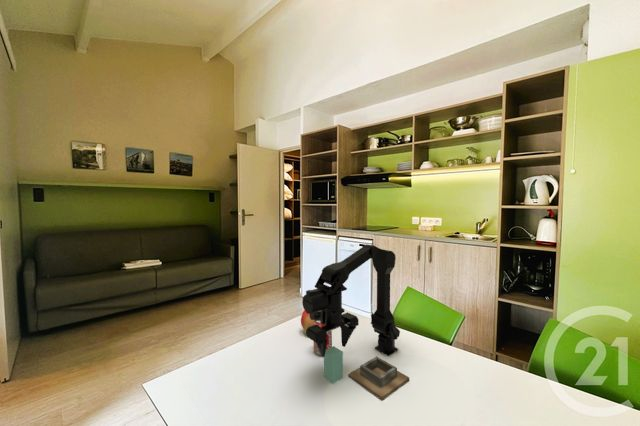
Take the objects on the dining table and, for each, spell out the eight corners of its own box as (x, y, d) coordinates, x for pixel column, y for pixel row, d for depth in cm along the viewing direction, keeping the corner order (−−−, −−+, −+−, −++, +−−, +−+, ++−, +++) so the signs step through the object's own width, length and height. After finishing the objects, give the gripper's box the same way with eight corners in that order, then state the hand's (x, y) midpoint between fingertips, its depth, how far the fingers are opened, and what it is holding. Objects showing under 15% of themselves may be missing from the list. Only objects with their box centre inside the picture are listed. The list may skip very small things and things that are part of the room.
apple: (296, 332, 123) (296, 310, 122) (312, 325, 129) (312, 304, 129) (310, 340, 116) (310, 316, 115) (326, 332, 122) (326, 310, 122)
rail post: (333, 371, 95) (333, 346, 94) (342, 377, 91) (342, 351, 91) (323, 376, 92) (323, 350, 92) (332, 383, 89) (332, 356, 88)
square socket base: (375, 360, 101) (375, 350, 100) (409, 380, 90) (409, 368, 90) (348, 376, 92) (348, 365, 92) (381, 400, 81) (382, 387, 81)
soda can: (330, 357, 103) (330, 323, 102) (311, 355, 104) (311, 322, 103) (333, 347, 110) (333, 315, 109) (315, 345, 111) (315, 314, 110)
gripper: (337, 292, 102) (337, 333, 103) (295, 305, 91) (296, 351, 92) (359, 301, 94) (359, 345, 95) (316, 316, 82) (317, 367, 83)
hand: (333, 351), depth 91 cm, fingers open, 9 cm apart
